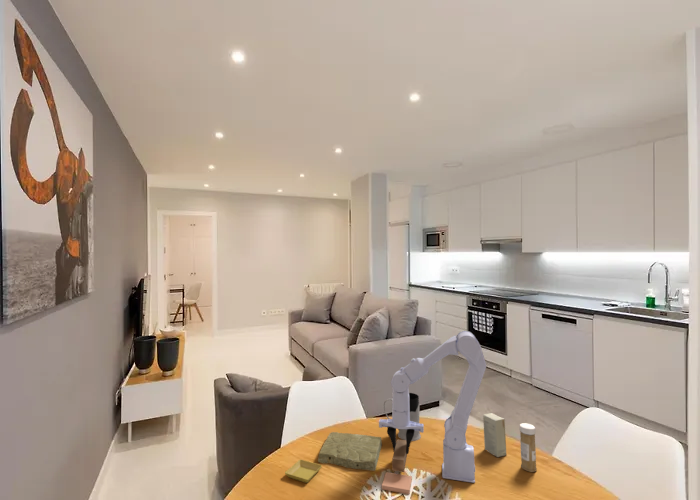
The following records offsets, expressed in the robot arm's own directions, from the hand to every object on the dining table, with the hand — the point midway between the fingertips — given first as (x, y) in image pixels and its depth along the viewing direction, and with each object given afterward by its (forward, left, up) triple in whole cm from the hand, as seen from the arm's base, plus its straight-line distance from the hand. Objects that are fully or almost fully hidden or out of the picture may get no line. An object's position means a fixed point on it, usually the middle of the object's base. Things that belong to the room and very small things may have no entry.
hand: (401, 451), depth 112 cm
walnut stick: (0, +2, -2) cm, 3 cm away
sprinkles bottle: (-40, -9, -5) cm, 41 cm away
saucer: (+29, +13, -5) cm, 32 cm away
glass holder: (+2, -21, -5) cm, 22 cm away
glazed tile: (0, +7, -4) cm, 8 cm away
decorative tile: (+18, -3, -5) cm, 19 cm away
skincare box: (-31, -17, -5) cm, 36 cm away
